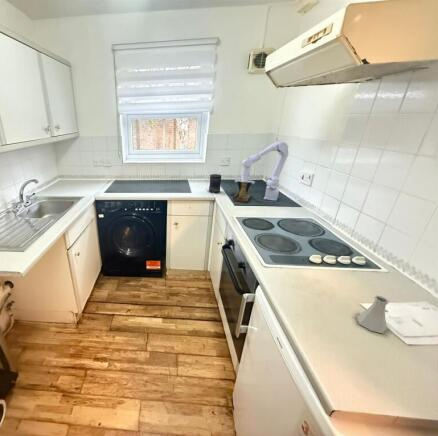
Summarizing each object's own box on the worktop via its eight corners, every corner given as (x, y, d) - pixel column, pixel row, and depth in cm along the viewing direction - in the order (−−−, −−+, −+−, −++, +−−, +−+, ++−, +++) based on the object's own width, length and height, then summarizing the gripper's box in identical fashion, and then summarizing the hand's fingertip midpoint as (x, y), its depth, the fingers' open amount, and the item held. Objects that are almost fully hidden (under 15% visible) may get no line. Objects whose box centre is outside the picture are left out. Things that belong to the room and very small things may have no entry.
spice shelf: (250, 196, 197) (251, 192, 196) (246, 202, 183) (247, 198, 182) (238, 195, 202) (238, 190, 201) (233, 201, 188) (233, 196, 187)
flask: (386, 337, 70) (399, 311, 66) (355, 325, 75) (365, 300, 71) (386, 322, 75) (398, 298, 71) (356, 311, 80) (366, 287, 76)
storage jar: (211, 189, 220) (212, 173, 214) (221, 191, 214) (223, 174, 209) (207, 192, 212) (208, 175, 207) (217, 193, 207) (219, 177, 201)
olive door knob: (238, 196, 191) (240, 182, 187) (239, 194, 196) (240, 181, 192) (246, 196, 189) (248, 183, 185) (246, 194, 194) (248, 181, 190)
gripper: (234, 175, 186) (232, 191, 192) (254, 176, 179) (252, 193, 185) (236, 173, 192) (235, 189, 197) (256, 174, 185) (253, 191, 190)
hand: (243, 191), depth 191 cm, fingers closed on olive door knob, 5 cm apart
